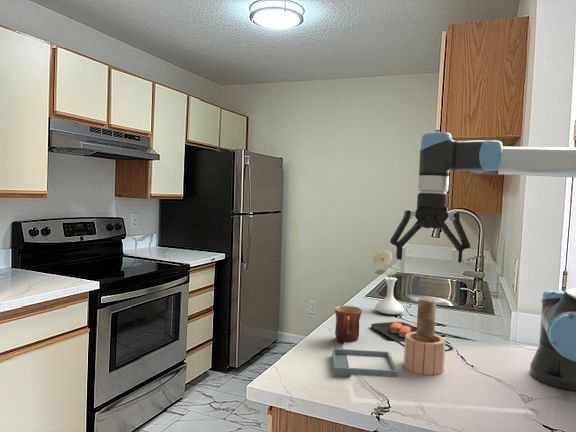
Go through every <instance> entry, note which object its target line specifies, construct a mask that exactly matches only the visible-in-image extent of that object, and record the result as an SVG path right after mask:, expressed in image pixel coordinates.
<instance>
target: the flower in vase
mask: <svg viewBox="0 0 576 432" xmlns="http://www.w3.org/2000/svg"><path fill="white" fill-rule="evenodd" d="M372 260H373V264H375V265H378V266H380V267H383V266H384V269H381V268H380V269H377V270H376V271H375V272H374V274H376V275H380V276H382V275H384V274H386V275H387V276H386V277H384V280H385V282H386V286H387V292H386V296H385V298H383V299H382V300H380V301H378V303H376V305H375V306H374V309H375V310H376V311H377V312H379V313H381V314H385V315H386V314H387V315H399V314H402V313H404V311H405V308H404V306H403V305H402V304H401V303H400V302H399V301H398V300H396V298H395V297H394V289H395V288H394V287H395V284H396V282H397V281H398V278H397V277H393V275H395V274H396V273H397V272H398V269H395V270H391V271H389V272H387V270H386V266H387V265H389V264H390V263H391V262H392V261H393V254H392V252H391V251H389V250H386V249H384V250H382V249H381V250H380V251H377V252H376V253H375V254H374V256H373V258H372ZM390 276H392V277H390Z"/></svg>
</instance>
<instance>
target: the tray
mask: <svg viewBox="0 0 576 432" xmlns="http://www.w3.org/2000/svg"><path fill="white" fill-rule="evenodd" d="M347 355H353V356H367V357H368V356H370V357H384V358H385V357H386V358H387V360H388V362H389V364H390V366H391V369H375V368H373V369H372V368H359V367H350V366H349V361H348V356H347ZM331 360H332V369H333V377H341V378H352V376H351V375H368V376H384V377H385V376H386V377H387V376H388V377H399V370H398V368H397V366H396V363H395V361H394V360H393V357H392V355H391V353H390V351H383V350H382V351H381V350H380V351H379V350H366V349H365V350H364V349H346V348H331Z"/></svg>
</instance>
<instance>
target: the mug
mask: <svg viewBox="0 0 576 432" xmlns="http://www.w3.org/2000/svg"><path fill="white" fill-rule="evenodd" d="M333 310H334V313H335V314H334V315H335V319H336V320H335V331H334V334H335V340H336V341H337V342H338V343H340V344H343V345H345V343H353V342H357V341H358V340H359V336H360V320H361V316H362V313H363V309H362V308H360V307H356V306H353V305H338V306H335V307H334V308H333Z"/></svg>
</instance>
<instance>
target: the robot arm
mask: <svg viewBox="0 0 576 432" xmlns="http://www.w3.org/2000/svg"><path fill="white" fill-rule="evenodd" d="M421 136H422V137H421V143H420V150H419V165H418V167H419V168H418V171H419V172H418V182H417V183H418V185H417V190H418V191H419V193H417V200H416V210H415V211H412V210H408V209H406V210H405V209H404V211H403V217H402V219H401V221H400V223H399V224H398V226H397V228H396V230H395V231H394V233H393V235H392V236H391V238H390V240H389V243H390V244H392V245H393V246H395V248H396V253H395V254H396V255H395V258H396V259H397V260H399V268H398V269H399V272H400V273H401V274H404V273H405V266H406V265H405V264H406V263H405V262H406V247H404V246H405V245H406V244H407V243H408V242H409V241H410V240H411V238H412V237H413V236H414V235H416V233H417V232H418V231H419V230H421V229H422V228H424V229H431V228H432V229H436V230H438V229H440V230H441V231H442V232H443V233H444V235H445V237H447V238H448V240H449V241H450V243H451V244H452V245H453V246H454V248H455V249H452V253H451V267H450V269H451V271H450V275H452V276H455V277H457V276H458V267H459V263H462V260H463V251H464V250H466V249H470V248H471V243H470V242H469V241H470V240H469V239H468V236H467V235H466V232H465V230H464V227H463V225H462V223H461V221H460V220H461V219H460V218H461V217H460V215H461V214H460V213H459V212H457V211H453V212H448V200H449V198H448V197H449V196H448V194H447V192H449V185H450V184H449V183H450V181H449V180H450V171H468V172H469V174H473V175H507V176H508V175H510V176H527V177H528V176H529V177H530V176H531V177H532V176H533V177H554V178H576V147H551V146H550V147H547V146H546V147H540V146H539V147H538V146H536V147H535V146H503V142H502V141H500V140H490V139H485V140H454V139H453V137H452V134H451V133H450V132H445V131H441V132H440V131H432V132H431V131H430V132H426V133H424V134H423V135H421ZM413 217H415V219H416V222H415V223H414V224H413V225H412V226H411V228H410V229H409V230H407V232H406V233H404V235H403V236H402V234H403V232H404V230H405V229H406V227H407V225H408V223H409V221H410V220H411V219H413ZM448 218H449V220H450V221H452V225H453V226H454V229H455V231H456V233H457V235H458V239H459V240H458V239H457V237H456V236H455V235H454V234H453V232H452V231H451V229H450V228H449V226H448V225H447V223H446V221H447V220H448ZM401 236H402V237H401ZM538 343H539V344H538V348H537V349H536V352H535V354H534V356H533V358H532V360H531V362H530V365H529V366H530V367H529V374H530V375H531V376H532V377H533V378H535V379H536V380H537V381H539V382H541V383H544V384H546V385H548V386H552V387H555V388H559V389H562V390H567V391H574V392H576V286H575V287H574V288H569V289H565V291H561V290H550V289H548V290H545V291H544V292H543V294H542V298H541V315H540V329H539V342H538Z"/></svg>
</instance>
